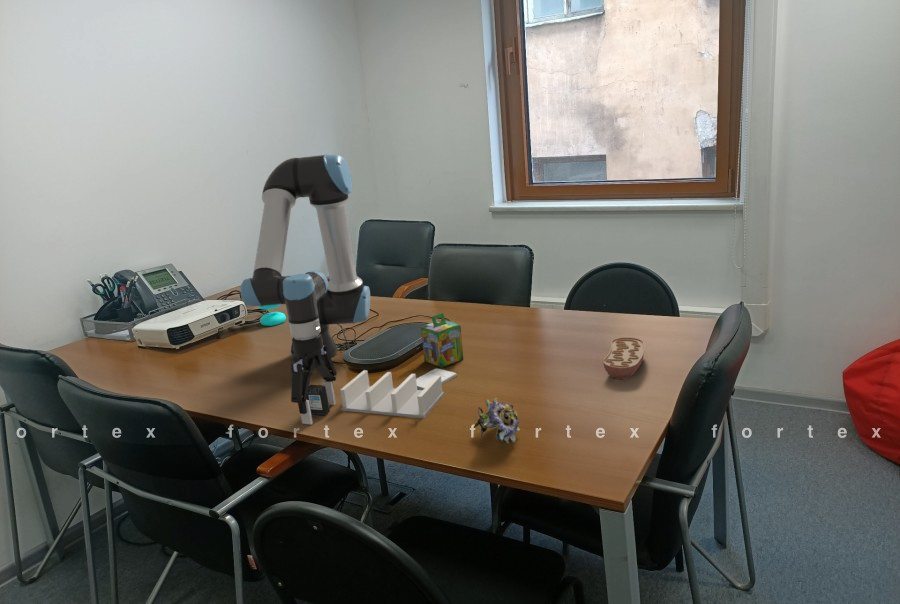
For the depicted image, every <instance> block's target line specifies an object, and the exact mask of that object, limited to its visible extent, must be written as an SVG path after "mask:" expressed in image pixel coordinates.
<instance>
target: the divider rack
mask: <svg viewBox="0 0 900 604" xmlns="http://www.w3.org/2000/svg"><path fill="white" fill-rule="evenodd" d="M368 372H369V371H368V370H365V369H364V370H362V371H361V372H360V373H359V374H357V375H356V376H355V377H353V378H352V380H350V381H349V382H348V383H346V384H345V385H344V386H343V387H341V388H340V389H339V390H340V397H341V405H342V407H341V408H340V410H341V411H345V412H354V413H355V412H356V413H366V414H374V415H375V414H377V415H384V416H385V415H386V416H396V417H397V416H398V417H403V418H404V417H407V418H417V419H425V418H426V417H427V416H428V415H429V413H430V412H431V411H432V410H433V408H434V407H435V406H436V405H437V404H438V403H439V401H440V400H441V399H442V398H443V397H444V396H445V391H443V384H442V382H441V376H438V375H437V376H436V377H435V378H434V379H433V380H432V381H431V382H430V383H429V384H428V385H427V386H426V387H425V389H424V390H418V389H417V382H416V379H417V376H416V373H411V374H409V375H408V376H407V377H406V378H405V379H404V381H402V382H401V383H400V384H399V385H398V386H397V387H394V384H393V377H392V371H387V372H385V373H384V374H383V376H381V377H380V378H379V379H378V380H377V381H375V383H373V385H370V379H369V378H370V377H369V373H368Z"/></svg>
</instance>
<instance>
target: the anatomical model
mask: <svg viewBox="0 0 900 604" xmlns="http://www.w3.org/2000/svg"><path fill="white" fill-rule="evenodd" d="M644 355H645V343H644V341H643V340H642V339H640V338H635V337H629V336H628V337H627V336H626V337H625V336H623V337H617V338H615V339H612V340H611V342H610V350H609V352H608V354H607V356H605V357H604V359H603V360H602V362H603V367H604V370H605V372H606V373H607V374H608V375H609V376H610V377H612V378H613V379H617V380H626V379H628V378H630V377H632V376H633V375H635V373H636V372H637V370H638V369H639V367H640V366H641V364H642V362H643V360H644Z"/></svg>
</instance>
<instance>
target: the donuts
mask: <svg viewBox="0 0 900 604" xmlns="http://www.w3.org/2000/svg"><path fill="white" fill-rule="evenodd" d="M280 306H282V304H278V305H267V306H257V307H258V308H259V309H261V310H265V311H266V310H273V309H277V308H279V307H280ZM286 316H287V315H286V314H285V313H283V312H280V311H272V312H267V313H265V314H263V315H262V316H261V317H260V319H259V322H260V324H261V325H262V326H264V327H271V326H272V327H273V326H277V325H281V324H283V323H284V322H286V319H287V317H286Z"/></svg>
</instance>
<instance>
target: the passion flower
mask: <svg viewBox="0 0 900 604" xmlns="http://www.w3.org/2000/svg"><path fill="white" fill-rule="evenodd" d="M484 402H485V405H486V407H487V410H488V411H487V412H485V413H484V410H483V408H482V407H481V406H478V407H477V410H476V411H477V414H478V415H479V418H478V419H477V422H475V423H474V426H473V428H474V429H475V428H477V426H480V438H482V436H483V434H484V433H486V432H487V429H488V428H489V429H493V428H495V429H497V432H496V434H495V439H496V440H497V442H503V443H504V444H506V445H508V444H509V442H510V443H512V444H514V443H516V432H519V431H520V430H521V429H520V427H519V424H520V420H519V419H518V413H517V411H516V410H515V409H514V405H513V404H510V405H509V404H507V403H505V404H504V402H503V401H502V402H498V398H497V397H494V398H493V401H492V402H493V403H492V402H490V400H489V399H485V401H484ZM479 410H480V411H479Z"/></svg>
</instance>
